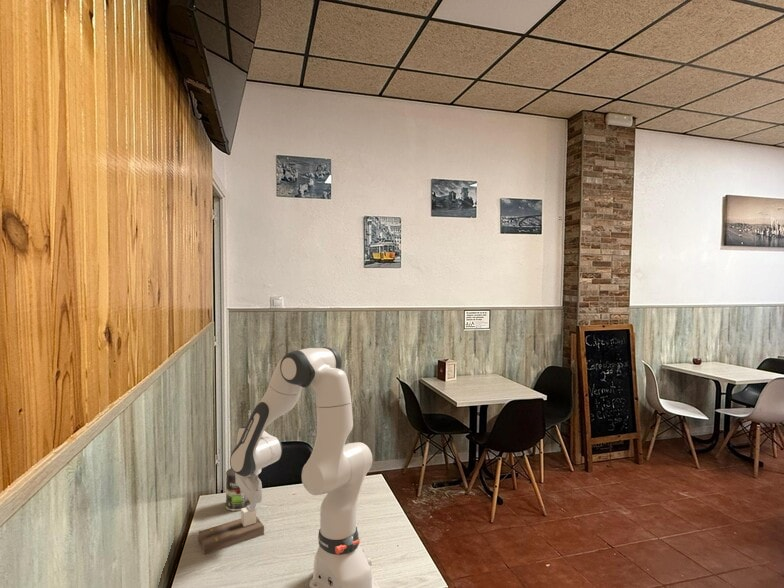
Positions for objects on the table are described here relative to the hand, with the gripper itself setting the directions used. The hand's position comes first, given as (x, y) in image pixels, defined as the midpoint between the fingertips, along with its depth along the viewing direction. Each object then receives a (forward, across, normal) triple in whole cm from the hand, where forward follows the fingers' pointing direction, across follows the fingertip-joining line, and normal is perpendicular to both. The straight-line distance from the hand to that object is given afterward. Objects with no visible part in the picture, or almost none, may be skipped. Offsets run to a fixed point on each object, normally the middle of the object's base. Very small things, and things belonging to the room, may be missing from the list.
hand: (248, 505), depth 151 cm
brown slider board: (+10, -1, +6) cm, 11 cm away
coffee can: (+10, +21, -3) cm, 24 cm away
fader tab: (+6, -1, 0) cm, 6 cm away
